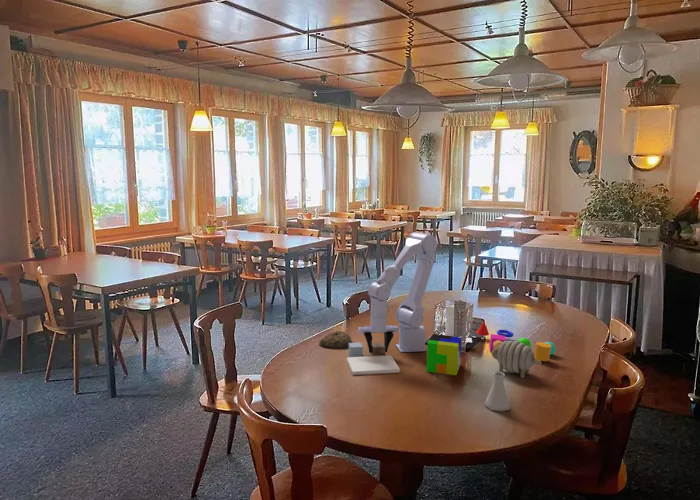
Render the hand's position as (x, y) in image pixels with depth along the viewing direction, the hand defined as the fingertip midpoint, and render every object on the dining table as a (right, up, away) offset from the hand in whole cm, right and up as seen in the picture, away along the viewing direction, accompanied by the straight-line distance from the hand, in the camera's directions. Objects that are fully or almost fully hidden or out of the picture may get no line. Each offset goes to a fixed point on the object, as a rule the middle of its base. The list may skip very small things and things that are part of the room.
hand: (377, 351), depth 192 cm
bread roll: (-15, 0, +13) cm, 21 cm away
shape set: (+48, -1, +7) cm, 49 cm away
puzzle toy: (+22, -4, -11) cm, 25 cm away
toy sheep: (+45, -5, -15) cm, 48 cm away
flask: (+33, -9, -39) cm, 52 cm away
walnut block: (0, -2, 0) cm, 2 cm away
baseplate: (-2, -3, -10) cm, 11 cm away
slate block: (-8, -1, 0) cm, 8 cm away
